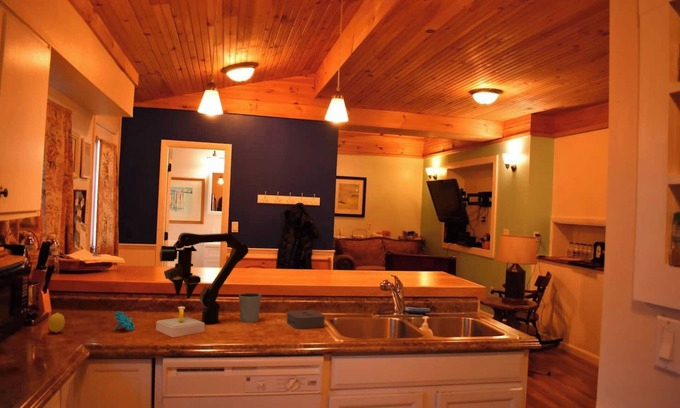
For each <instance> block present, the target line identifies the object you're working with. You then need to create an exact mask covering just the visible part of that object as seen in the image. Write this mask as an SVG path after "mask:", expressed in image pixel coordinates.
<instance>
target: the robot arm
mask: <svg viewBox="0 0 680 408" xmlns="http://www.w3.org/2000/svg"><path fill="white" fill-rule="evenodd" d="M223 242H224V243H226V244H227V245H228V246H229V247H230V248H231V250H230V252H229V256H228V259H227V261H226V262H225V263H224V265H223V267H222V268H221V269H220V271H219V273H218V274H217V275H216V277H215V278H214V280H213V281H212V282H211V284H210V285H209V286H208V287H207V286H206V285H204V286H203V288H202V290H201V291H200V292H199V297H198V298H199V302H200V303H201V304H202V306H203V307H204V308H203V309H202V313H201V320H200V321H201V322H203V323H205V324H206V325H213V324H218V323H221V321H220V320H219V319H220V318H219V317H220V316H219V315H220V307H221V305H220V304H219V303H218V302H217V299H218V296H219V293H220V290H221V288H222V286H223V285H224V284H225V282H226V281H227V279H228V278H229V276H230V275H231V273H232V272H233V270H234V269H235V267H236V266H237V264H238V263H239V262H241V261H242V260H243V259H244V258H245V257H246V256H247V255H248V254H249V247H248V246H247V244H245V243H241V241H239V240H238V239H237V238H235V237H234V235H233V234H232V233H229V232H224V233H222V232H221V233H202V234H198V233H192V232H191V233H190V232H182V233H180V234H179V235H178V237H177V240H176V242H175V243H174V244H173V245H160V246H161V248H160V252H159V261H160V262H161V263H162V262H175V260H177V262H176V263H175V265H174V267H172V268H169V269H167V270H164V271H163V274H164V277H165V279H166V280H168V281H170V282H171V283H172V285H173V288H174V292H175V295H176V296H180V293H181V290H182V286H183V285H184V286H185V292H186V293H185V294H186V299H191V296H192V295H193V293H194V291H195V289H196V288H197V286H198V285H200V284H199V283H202V282H201V281H202V280H201V277H200V276H199V275H197V274H193V273H192V267H194V263H192V260H193V259H192V256H193V253H192V252H197V248H195V245H198V244H205V243H223Z"/></svg>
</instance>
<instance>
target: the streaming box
mask: <svg viewBox="0 0 680 408" xmlns="http://www.w3.org/2000/svg"><path fill="white" fill-rule="evenodd" d="M286 313H287V314H286V315H287V316H286V324H288V325H289V326H290V327H292V328H294V329H296V330H298V329H299V330H304V329H305V330H306V329H315V328H316V329H317V328H324V327H325V319H326V318H325V314H323V313H321V312H319V311H317V310H314V309H313V310H312V309H306V310H292V311H291V310H290V311H287V312H286Z"/></svg>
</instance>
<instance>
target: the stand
mask: <svg viewBox="0 0 680 408" xmlns="http://www.w3.org/2000/svg"><path fill="white" fill-rule="evenodd" d="M205 324H206V323H203V322H201V320H197V319H195V318H193V317H190V316H183V322H179V317H174V318H167V319H160V320H157V321H156V323H155V326H156V327H155V330H156V331H157V332H160V333H162V334H164V335H166V336H169V337H171V338H177V337H183V336H187V335H188V336H189V335H193V334H194V335H195V334H201V333H204V332H205Z"/></svg>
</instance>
